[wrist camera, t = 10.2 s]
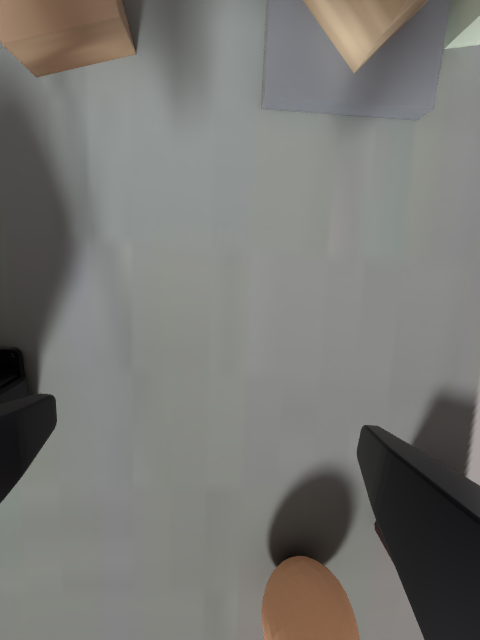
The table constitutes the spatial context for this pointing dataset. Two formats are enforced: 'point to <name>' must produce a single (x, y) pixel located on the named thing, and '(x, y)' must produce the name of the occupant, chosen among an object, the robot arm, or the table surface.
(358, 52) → the oak block
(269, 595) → the egg
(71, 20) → the walnut brick
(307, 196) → the table surface
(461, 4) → the sage brick
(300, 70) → the slate tile
